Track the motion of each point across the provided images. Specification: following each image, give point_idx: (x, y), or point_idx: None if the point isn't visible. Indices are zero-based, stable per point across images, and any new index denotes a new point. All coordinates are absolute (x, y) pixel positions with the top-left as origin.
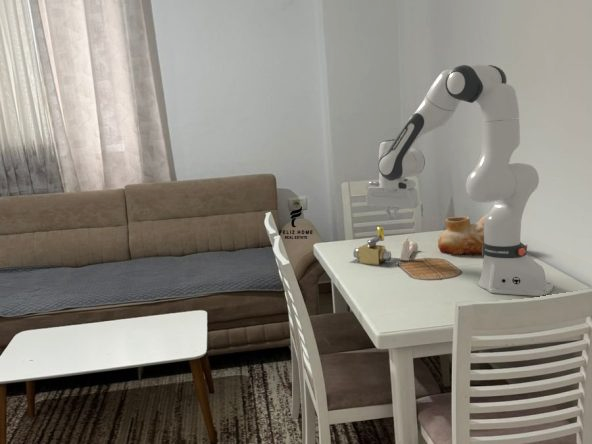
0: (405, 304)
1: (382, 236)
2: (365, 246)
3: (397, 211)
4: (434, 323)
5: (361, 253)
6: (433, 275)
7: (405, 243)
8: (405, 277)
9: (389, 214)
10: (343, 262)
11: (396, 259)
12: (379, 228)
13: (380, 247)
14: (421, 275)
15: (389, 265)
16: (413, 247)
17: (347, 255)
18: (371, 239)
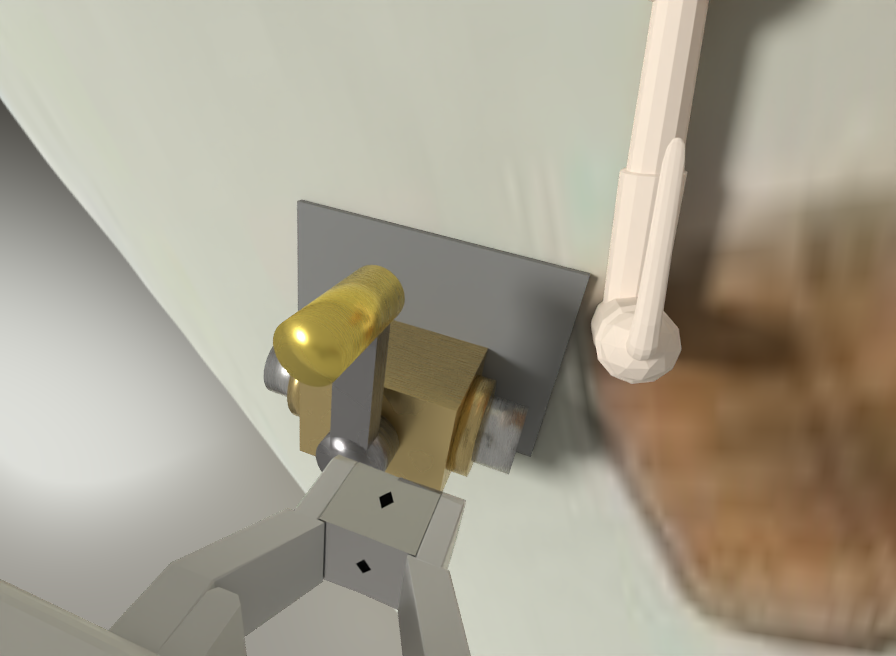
0: None
1: (380, 333)
2: (325, 422)
3: (461, 647)
4: None
5: None
6: (837, 592)
7: (637, 382)
8: (655, 596)
9: (337, 577)
10: (265, 355)
11: (556, 303)
12: (310, 383)
13: (435, 451)
14: (753, 582)
15: (533, 433)
16: (703, 20)
17: (210, 207)
18: (330, 433)
